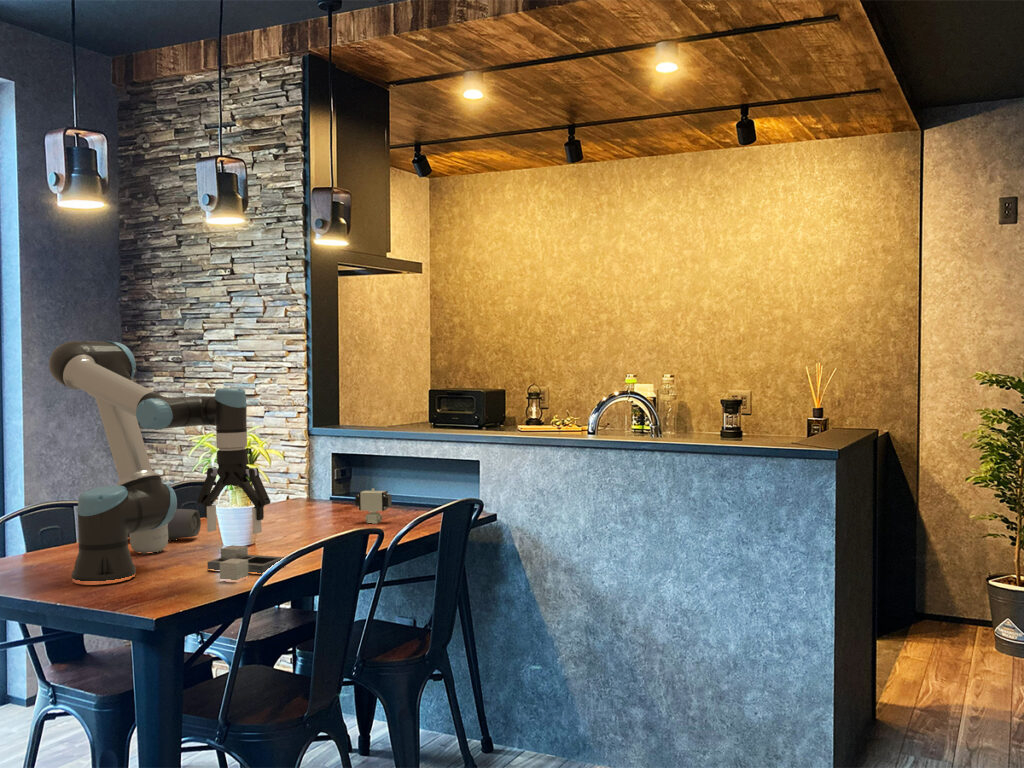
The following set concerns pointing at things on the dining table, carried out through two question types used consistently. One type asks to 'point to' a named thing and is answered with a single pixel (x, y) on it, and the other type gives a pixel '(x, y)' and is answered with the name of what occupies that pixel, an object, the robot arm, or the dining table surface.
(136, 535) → the teacup
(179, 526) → the bluetooth speaker
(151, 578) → the dining table surface
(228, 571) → the beige cube
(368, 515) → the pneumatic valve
